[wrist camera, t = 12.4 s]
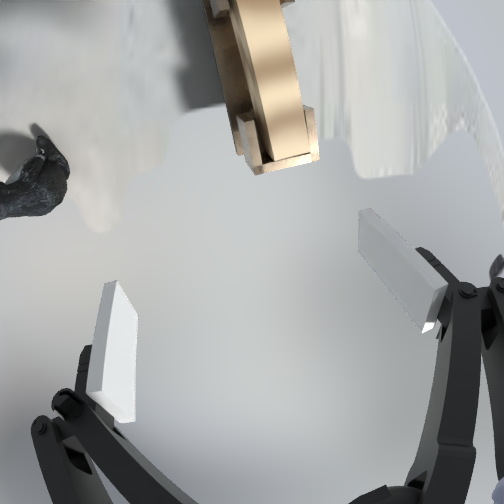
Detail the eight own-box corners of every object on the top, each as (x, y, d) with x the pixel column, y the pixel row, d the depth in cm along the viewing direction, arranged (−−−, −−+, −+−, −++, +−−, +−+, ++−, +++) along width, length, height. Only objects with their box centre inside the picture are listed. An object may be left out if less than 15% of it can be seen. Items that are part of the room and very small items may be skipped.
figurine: (27, 125, 31) (-31, 158, 19) (86, 140, 35) (45, 179, 23) (16, 186, 35) (-32, 239, 23) (71, 202, 39) (36, 262, 27)
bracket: (197, -17, 27) (204, -43, 18) (259, -26, 27) (285, -50, 19) (236, 153, 41) (253, 180, 33) (291, 141, 42) (322, 163, 33)
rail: (222, -12, 23) (229, -24, 19) (258, -18, 24) (271, -29, 20) (262, 148, 35) (274, 161, 31) (294, 140, 35) (310, 151, 31)
